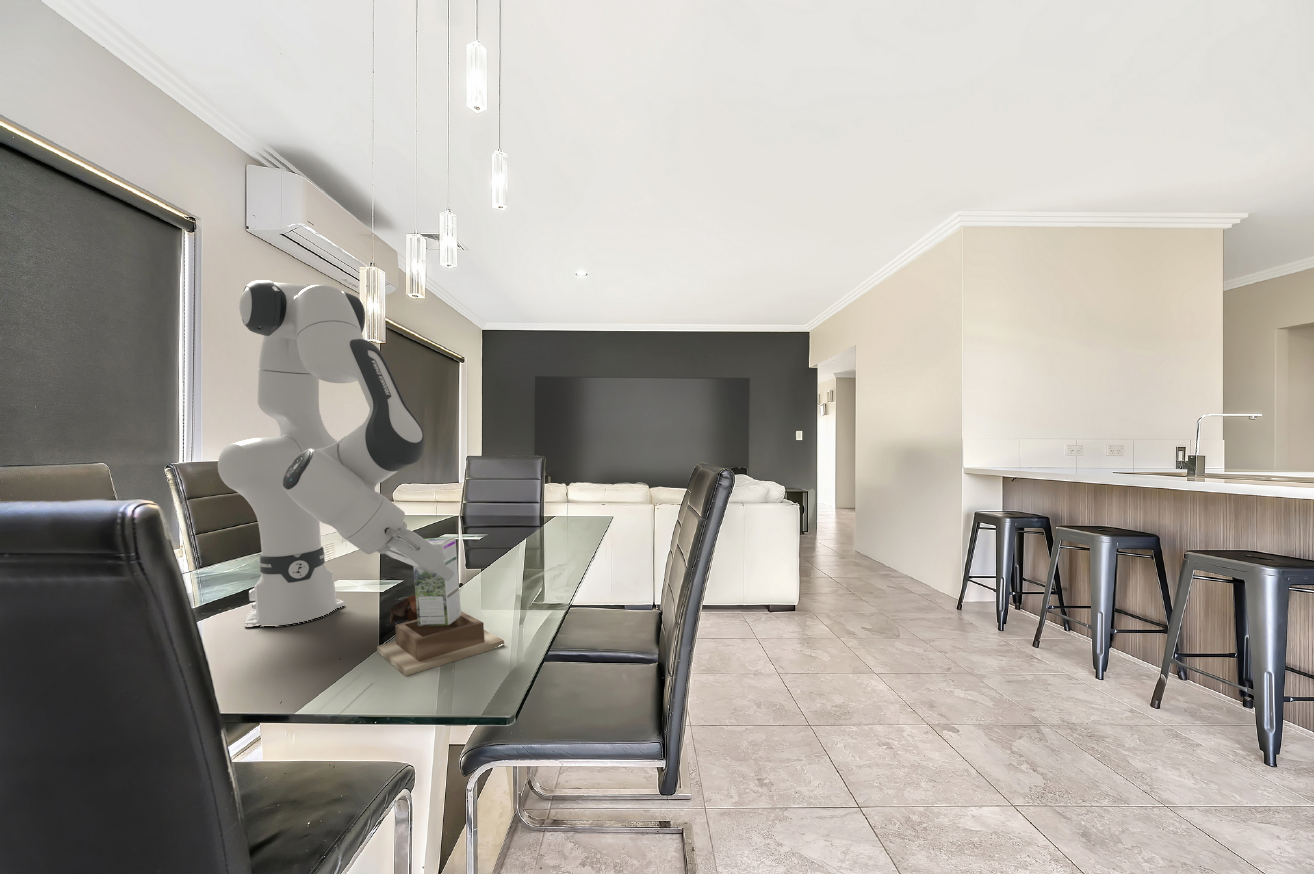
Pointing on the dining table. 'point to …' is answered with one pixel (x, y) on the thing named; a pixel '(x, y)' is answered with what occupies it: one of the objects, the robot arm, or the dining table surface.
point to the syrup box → (438, 589)
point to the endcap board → (437, 644)
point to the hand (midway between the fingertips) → (439, 572)
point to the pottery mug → (404, 610)
